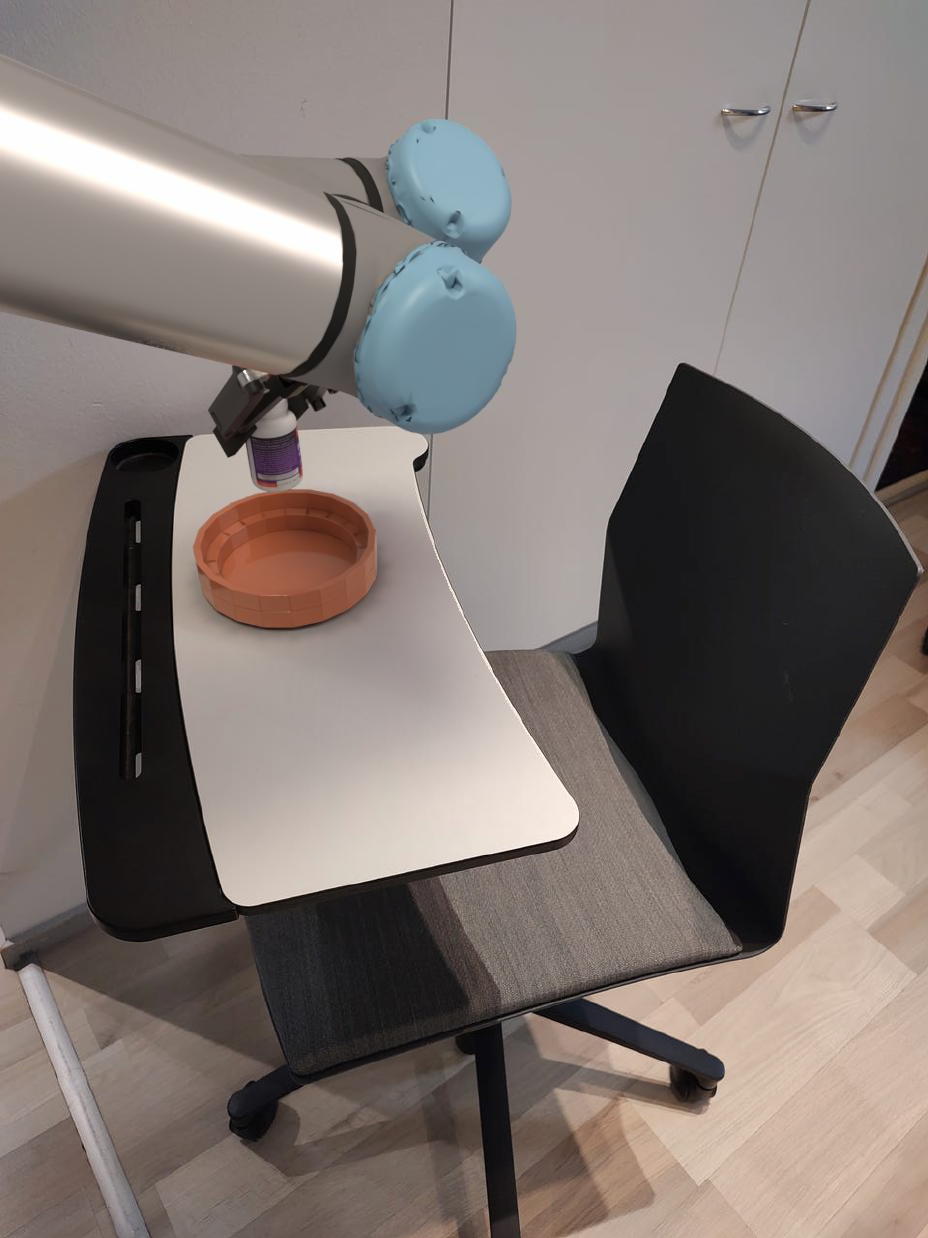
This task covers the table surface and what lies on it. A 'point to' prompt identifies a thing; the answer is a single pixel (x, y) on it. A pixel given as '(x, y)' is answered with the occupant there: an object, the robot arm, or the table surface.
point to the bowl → (286, 557)
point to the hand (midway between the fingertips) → (249, 432)
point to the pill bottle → (275, 451)
